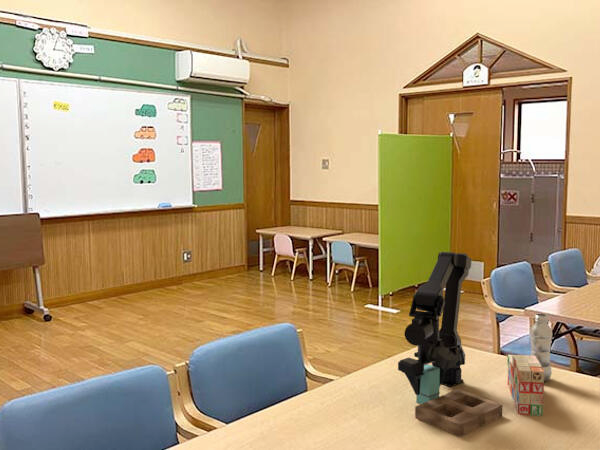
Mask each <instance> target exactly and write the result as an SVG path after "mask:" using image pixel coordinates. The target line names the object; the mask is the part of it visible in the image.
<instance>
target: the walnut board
mask: <svg viewBox="0 0 600 450" xmlns="http://www.w3.org/2000/svg"><path fill="white" fill-rule="evenodd" d="M414 409H415V410H414V411H415V413H414V415H415V416H414V418H415V419H417V420H420V421H422V422H425V423H427V424H429V425H431V426H433V427H436V428H439V429H441V430H443V431H446V432H448V433H451V434H453V435H455V436H456V437H458V438H459V437H463V436H464V435H467V434H469V433H470V432H472V431H475V430H476V429H479V428H480V427H482V426H485V425H486V424H489V423H491V422H492V421H495V420H497V419H499V418H501V417H503V404H501V403H498V402H496V401H492V400H490V399H487V398H484V397H481V396H479V395H476V394H472V393H470V392H467V391H465V390H461V389H455V390H451V391H450V392H448V393H445V394H442V395H439V397H438V398H435V399H433V400H430V401H428V402H425V403H423V404H418V405H416V406H415V408H414Z"/></svg>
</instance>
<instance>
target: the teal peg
mask: <svg viewBox="0 0 600 450" xmlns="http://www.w3.org/2000/svg"><path fill="white" fill-rule="evenodd" d="M422 373H425V374H424V375H423V376H422V377H421V383H420V393H419V395H416V394H415V395H416V404H418V405H420V404H423V403H425V402H428V401H430V400H433V399H435V398H438V397H440V393H441V392H440V387H441V386H440V368H438V367H435V366H432V364H431V365H430V364H427V365H424V371H423V372H422ZM439 386H440V387H439Z"/></svg>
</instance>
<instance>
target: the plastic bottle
mask: <svg viewBox="0 0 600 450" xmlns="http://www.w3.org/2000/svg"><path fill="white" fill-rule="evenodd" d="M548 323H549V315H548V314H546V313H535V314H534V323H533V324H532V326H531V328H530V329H529V336H530V337H529V338H530V347H531V350H530V356H535V357H536V358H537V360H538V361H539V363H540V364H541V366H542V369H543V370H544V382H545V381H549V380H550V379H551V377H552V365H551V345H552V340H553V339H552V338H553V331H552V328H551V327H550V325H549V324H548Z"/></svg>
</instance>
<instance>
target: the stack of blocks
mask: <svg viewBox="0 0 600 450" xmlns="http://www.w3.org/2000/svg"><path fill="white" fill-rule="evenodd" d="M507 386H508V390H509V393H510V395H511V397H512V400H513V403H514V407H515V409H516V413H517V415H527V416H539V417H543V411H544V393H545V391H544V387H545V381H544V370H543V369H542V366H541V364H540V363H539V361H538V360H537V358H536V357H535V356H531V355H527V354H526V355H524V354H523V355H522V354H507Z"/></svg>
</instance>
